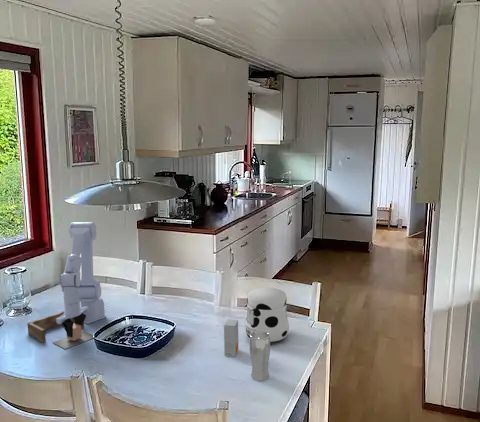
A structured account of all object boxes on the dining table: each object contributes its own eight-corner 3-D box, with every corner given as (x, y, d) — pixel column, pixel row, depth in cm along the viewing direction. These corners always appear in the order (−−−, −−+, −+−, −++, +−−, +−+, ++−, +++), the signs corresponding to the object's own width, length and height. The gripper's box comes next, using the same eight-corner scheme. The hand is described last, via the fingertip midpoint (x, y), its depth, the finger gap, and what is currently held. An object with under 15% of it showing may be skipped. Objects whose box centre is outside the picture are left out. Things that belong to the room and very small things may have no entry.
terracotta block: (74, 335, 197) (73, 323, 196) (81, 337, 195) (81, 325, 194) (67, 338, 194) (66, 327, 193) (74, 340, 192) (73, 328, 191)
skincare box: (235, 357, 178) (235, 326, 176) (224, 356, 179) (223, 325, 177) (238, 349, 184) (238, 319, 182) (227, 348, 185) (227, 318, 183)
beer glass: (248, 372, 167) (248, 330, 165) (269, 370, 168) (268, 329, 165) (251, 382, 161) (250, 339, 158) (271, 381, 161) (271, 338, 159)
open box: (69, 320, 214) (68, 309, 213) (101, 335, 198) (100, 323, 198) (28, 334, 200) (27, 322, 200) (59, 351, 185) (58, 339, 184)
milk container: (294, 332, 199) (294, 290, 196) (279, 350, 183) (279, 304, 180) (255, 325, 206) (255, 284, 203) (238, 342, 191) (237, 298, 187)
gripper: (79, 294, 200) (81, 325, 202) (49, 306, 187) (52, 339, 190) (91, 297, 196) (93, 329, 199) (62, 309, 184) (65, 343, 186)
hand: (74, 334), depth 194 cm, fingers closed on terracotta block, 4 cm apart
